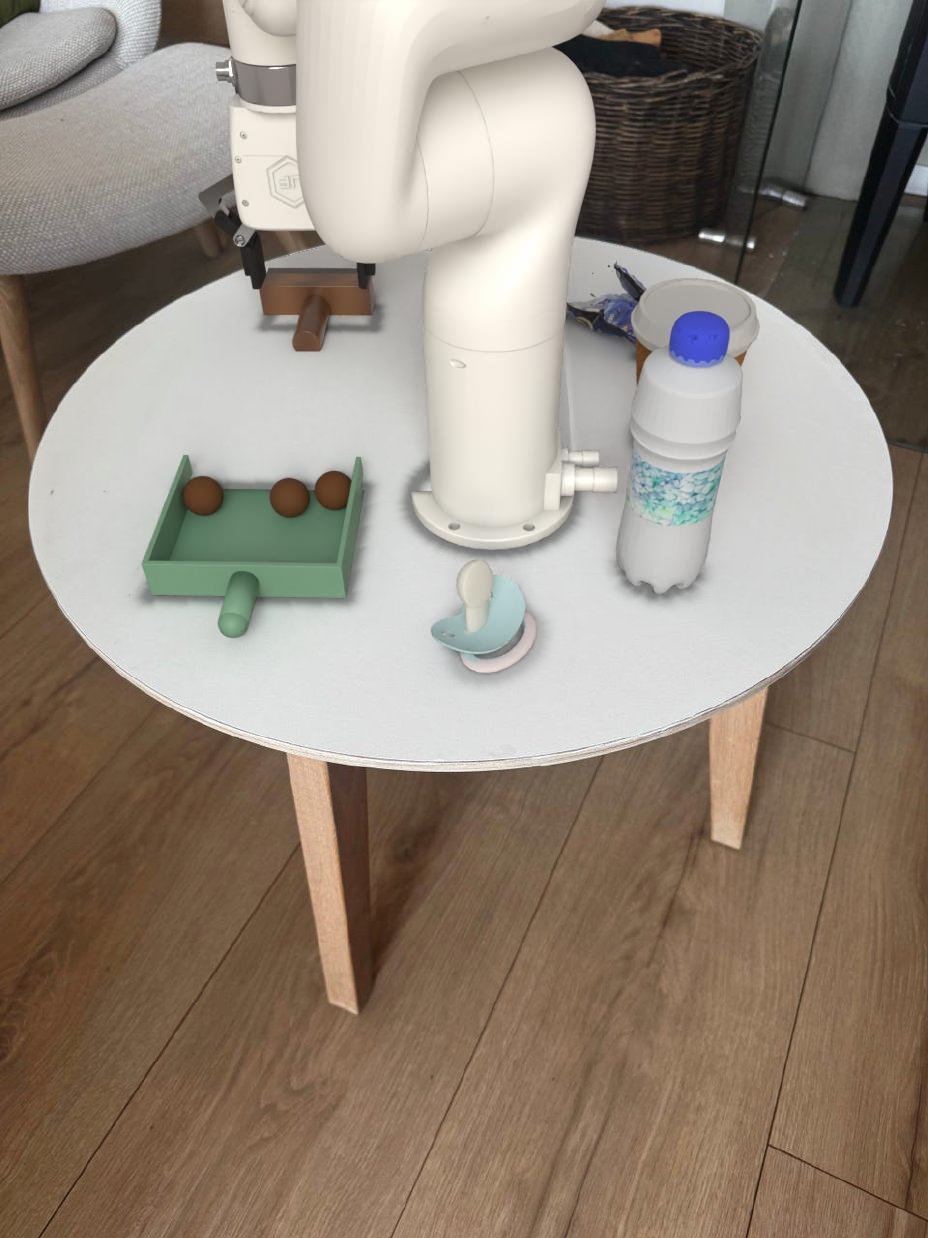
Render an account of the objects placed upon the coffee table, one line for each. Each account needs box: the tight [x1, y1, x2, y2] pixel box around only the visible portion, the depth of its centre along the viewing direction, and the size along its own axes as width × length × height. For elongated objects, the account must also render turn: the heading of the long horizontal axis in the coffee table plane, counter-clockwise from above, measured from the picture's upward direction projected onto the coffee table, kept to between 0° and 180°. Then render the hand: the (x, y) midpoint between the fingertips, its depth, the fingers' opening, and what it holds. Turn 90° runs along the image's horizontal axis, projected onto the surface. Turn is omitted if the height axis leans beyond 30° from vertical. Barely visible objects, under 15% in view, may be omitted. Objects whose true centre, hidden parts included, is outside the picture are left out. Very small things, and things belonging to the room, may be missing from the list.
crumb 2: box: [270, 477, 310, 518], centre depth 75 cm, size 3×3×3 cm
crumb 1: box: [183, 475, 223, 516], centre depth 75 cm, size 3×3×3 cm
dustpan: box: [141, 454, 365, 639], centre depth 71 cm, size 17×14×3 cm
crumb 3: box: [314, 470, 352, 510], centre depth 75 cm, size 3×3×3 cm
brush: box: [258, 267, 375, 353], centre depth 93 cm, size 10×4×10 cm
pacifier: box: [430, 559, 538, 674], centre depth 64 cm, size 7×6×6 cm
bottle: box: [615, 311, 744, 595], centre depth 64 cm, size 7×7×20 cm
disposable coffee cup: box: [631, 277, 761, 387], centre depth 78 cm, size 10×10×12 cm
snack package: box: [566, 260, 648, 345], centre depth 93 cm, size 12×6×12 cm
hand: (312, 282), depth 90 cm, fingers open, 9 cm apart
